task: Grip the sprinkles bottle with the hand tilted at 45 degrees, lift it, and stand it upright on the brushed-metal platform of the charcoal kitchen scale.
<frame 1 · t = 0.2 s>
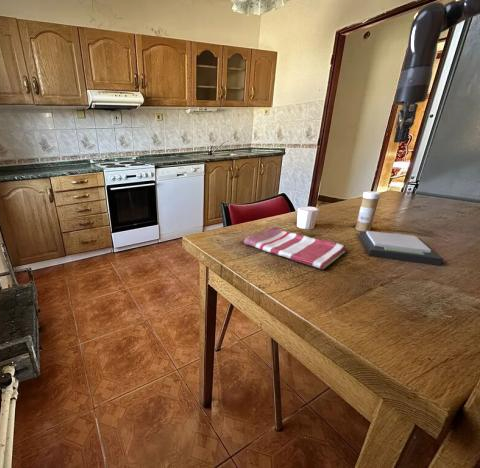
hand: (399, 142, 84), 29 cm above the table, tool pointing down, fingers open, 8 cm apart
scale: (394, 249, 75), on the table
dish towel: (291, 249, 78), on the table
white cup: (305, 227, 95), on the table
sprinkles bottle: (362, 230, 90), on the table
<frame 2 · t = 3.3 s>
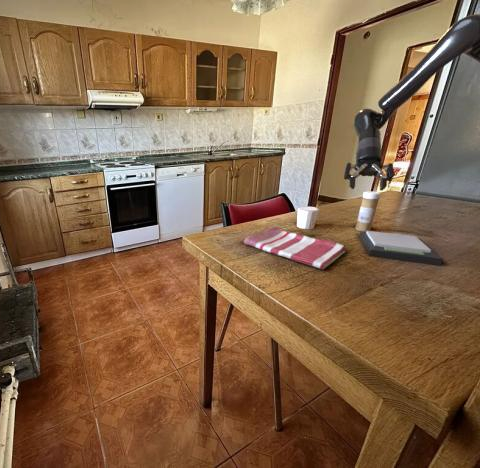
hand: (367, 188, 92), 13 cm above the table, tool tilted 45°, fingers open, 8 cm apart
nothing on the table moved.
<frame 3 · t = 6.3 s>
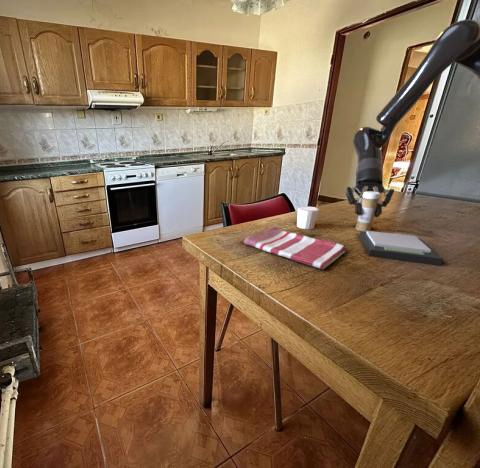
hand: (368, 215, 86), 6 cm above the table, tool tilted 45°, fingers closed on sprinkles bottle, 4 cm apart
sprinkles bottle: (362, 230, 90), on the table, touching gripper
everything else where it was.
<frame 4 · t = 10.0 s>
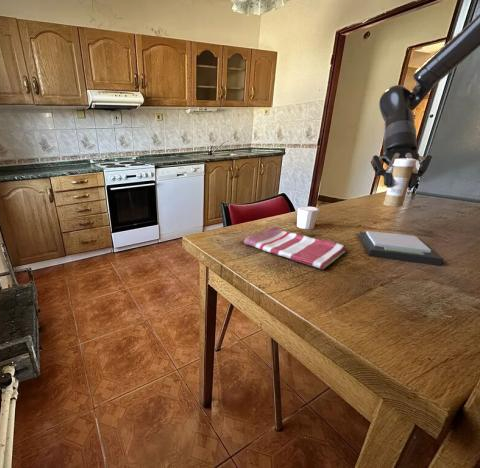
hand: (400, 186, 73), 18 cm above the table, tool tilted 45°, fingers closed on sprinkles bottle, 4 cm apart
sprinkles bottle: (392, 206, 77), point 11 cm above the table, touching gripper
everything else where it was.
when the fingers open (9 cm above the table, at t = 13.6 s): sprinkles bottle stays where it is, resting on scale.
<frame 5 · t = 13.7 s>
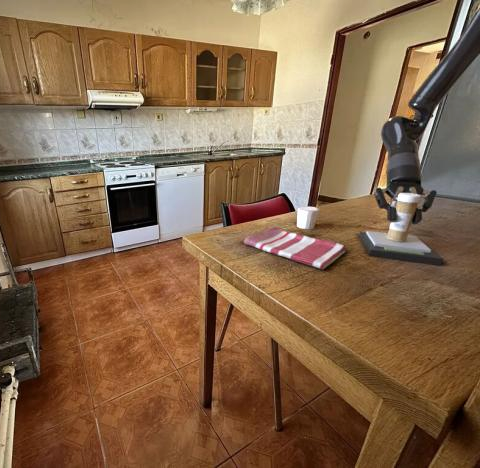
hand: (404, 221, 71), 9 cm above the table, tool tilted 45°, fingers open, 4 cm apart
sprinkles bottle: (395, 240, 75), point 3 cm above the table, touching scale
everything else where it was.
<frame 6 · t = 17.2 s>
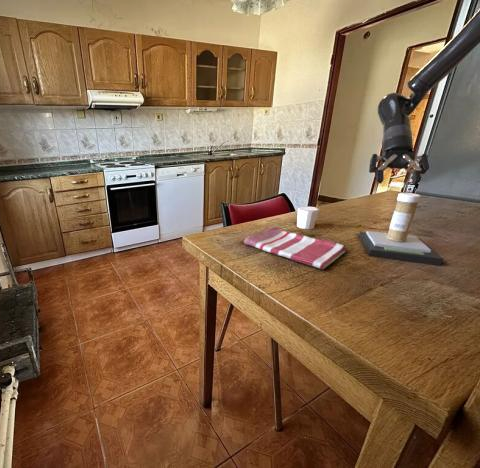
hand: (398, 182, 80), 17 cm above the table, tool tilted 45°, fingers open, 8 cm apart
nothing on the table moved.
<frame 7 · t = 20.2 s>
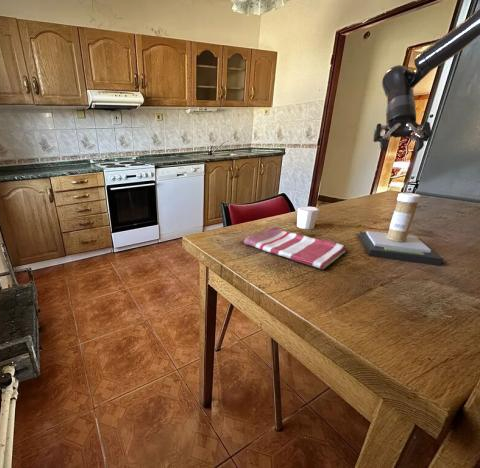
hand: (401, 149, 83), 27 cm above the table, tool tilted 45°, fingers open, 8 cm apart
nothing on the table moved.
at the end: sprinkles bottle inside the target area on the scale (0.1 cm from its centre), point 2.6 cm above the scale's base; sprinkles bottle tilted 0°; the gripper is holding nothing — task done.
